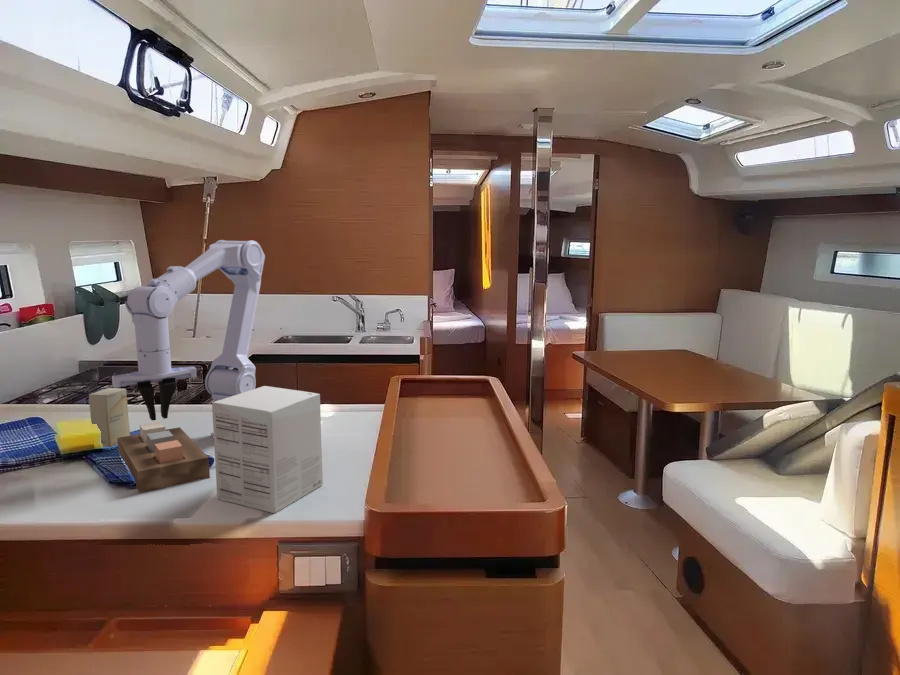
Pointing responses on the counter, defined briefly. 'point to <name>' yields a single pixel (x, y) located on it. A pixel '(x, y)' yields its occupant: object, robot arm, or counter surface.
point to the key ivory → (150, 430)
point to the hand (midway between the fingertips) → (158, 418)
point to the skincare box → (110, 414)
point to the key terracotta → (168, 452)
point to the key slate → (158, 439)
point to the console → (167, 473)
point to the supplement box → (267, 447)
